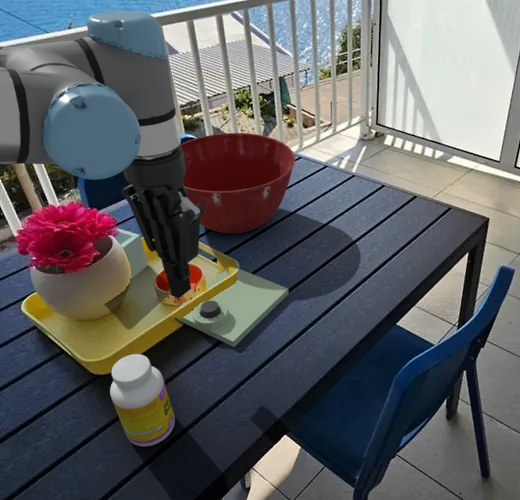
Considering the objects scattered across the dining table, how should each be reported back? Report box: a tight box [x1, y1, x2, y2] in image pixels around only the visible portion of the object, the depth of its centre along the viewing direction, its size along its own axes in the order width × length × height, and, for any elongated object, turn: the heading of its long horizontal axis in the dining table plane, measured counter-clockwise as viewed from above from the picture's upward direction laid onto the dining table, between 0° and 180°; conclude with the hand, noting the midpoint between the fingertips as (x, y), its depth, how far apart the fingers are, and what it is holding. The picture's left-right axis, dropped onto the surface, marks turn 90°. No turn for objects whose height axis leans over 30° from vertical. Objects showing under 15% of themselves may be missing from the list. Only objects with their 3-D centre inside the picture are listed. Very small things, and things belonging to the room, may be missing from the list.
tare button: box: [201, 301, 219, 318], centre depth 87 cm, size 3×3×2 cm
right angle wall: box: [115, 227, 149, 280], centre depth 97 cm, size 12×12×8 cm
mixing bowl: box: [180, 132, 296, 235], centre depth 113 cm, size 28×28×15 cm
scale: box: [172, 268, 290, 348], centre depth 92 cm, size 16×14×3 cm
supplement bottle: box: [109, 353, 176, 447], centre depth 68 cm, size 7×7×13 cm
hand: (181, 291), depth 76 cm, fingers closed
